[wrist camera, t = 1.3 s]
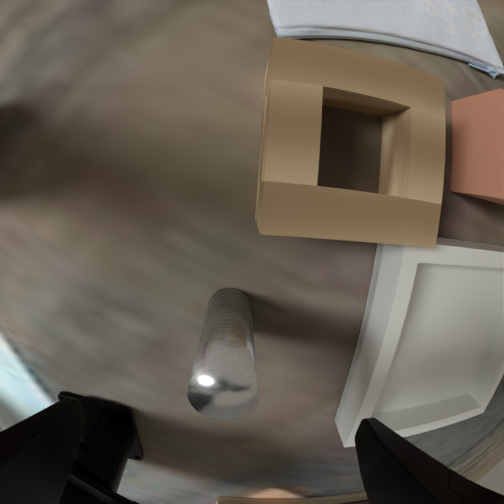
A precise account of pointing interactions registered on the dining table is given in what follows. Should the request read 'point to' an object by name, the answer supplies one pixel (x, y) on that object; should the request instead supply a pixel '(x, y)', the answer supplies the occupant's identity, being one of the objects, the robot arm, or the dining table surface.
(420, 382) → the tray
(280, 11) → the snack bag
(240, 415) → the cylinder
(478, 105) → the rust block
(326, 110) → the oak block
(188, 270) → the dining table surface
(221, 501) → the hardcover book
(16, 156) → the dining table surface
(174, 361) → the dining table surface
